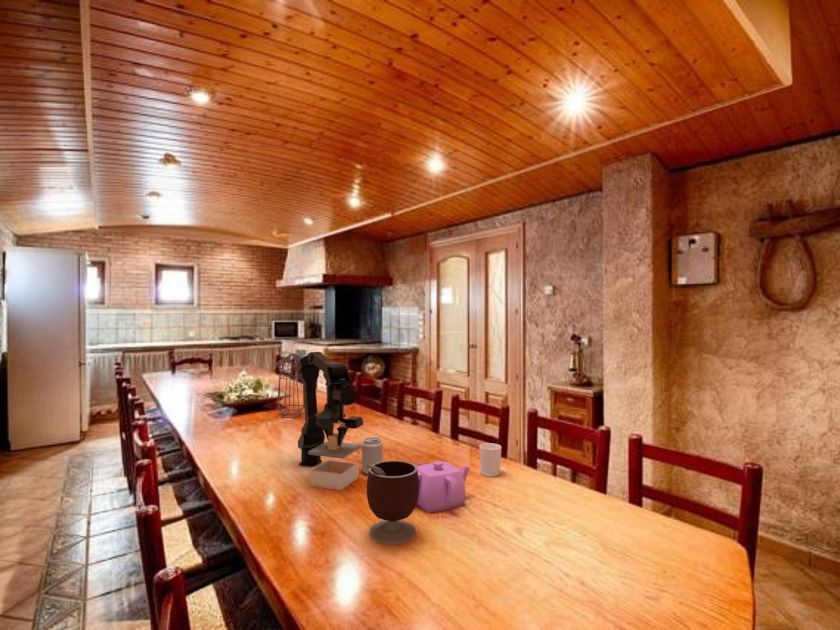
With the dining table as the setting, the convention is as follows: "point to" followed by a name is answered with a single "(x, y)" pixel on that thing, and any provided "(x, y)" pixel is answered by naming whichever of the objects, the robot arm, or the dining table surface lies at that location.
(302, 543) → the dining table surface
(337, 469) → the ball
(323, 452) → the lid
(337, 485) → the box
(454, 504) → the teakettle
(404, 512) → the mate gourd
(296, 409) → the geometric lantern
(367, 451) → the can
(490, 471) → the white cup
